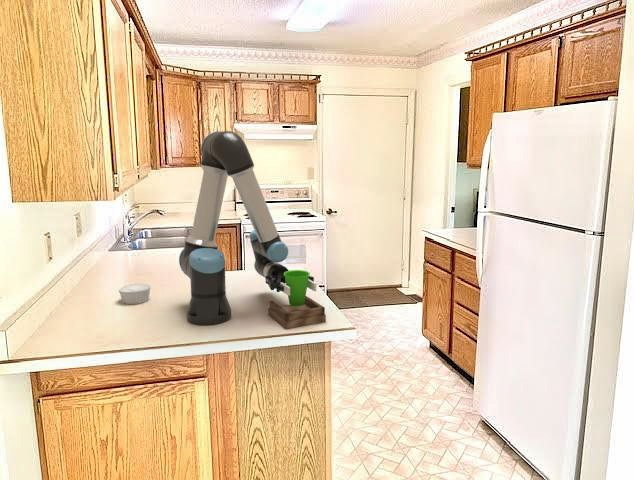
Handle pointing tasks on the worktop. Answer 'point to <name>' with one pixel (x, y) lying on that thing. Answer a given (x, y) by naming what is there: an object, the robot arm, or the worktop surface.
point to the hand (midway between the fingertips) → (302, 289)
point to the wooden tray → (297, 314)
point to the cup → (297, 286)
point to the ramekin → (135, 293)
